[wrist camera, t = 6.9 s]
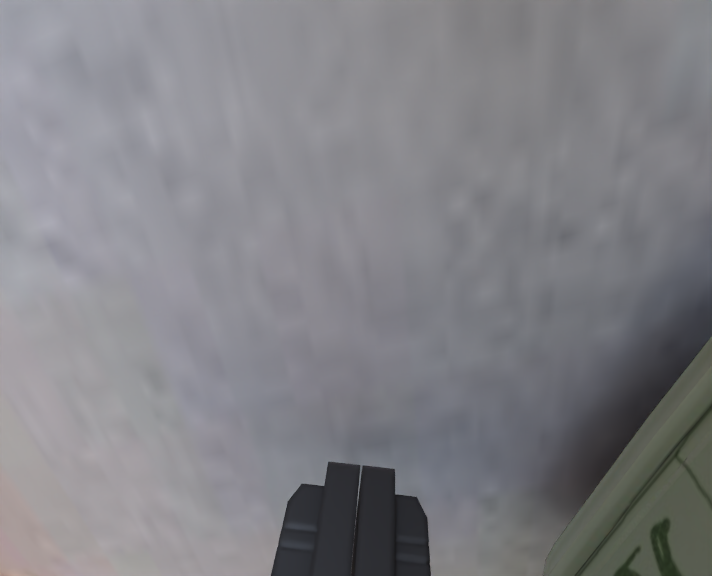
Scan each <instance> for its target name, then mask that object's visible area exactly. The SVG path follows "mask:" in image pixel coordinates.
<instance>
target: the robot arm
mask: <svg viewBox="0 0 712 576" xmlns="http://www.w3.org/2000/svg"><path fill="white" fill-rule="evenodd" d="M359 474H360V465H353V464H345V463H336V462H328V467H327V473H326V479H325V485H324V486H318V485H309V484H301V485H300V487H299V488H298V489H297V491H296V492H295V493H294V494H293V496H292V497H291V498H290V500H289V501H288V504H287V508H286V512H285V517H284V521H283V527H282V530H281V534H280V538H279V544H278V547H277V551H276V556H275V560H274V565H273V569H272V573H271V576H431V572H430V555H429V546H428V542H429V538H428V522H427V517H426V515H425V513H424V511H423V509H422V507H421V505H420V503H419V501H418V499H417V497H412V496H403V495H395V469H389V468H380V467H372V466H363V467H362V475H361V483H360V491H359V499H358V507H357V497H358V486H359ZM356 509H357V515H356ZM355 520H356V525H355ZM354 532H355V535H354ZM353 544H354V546H353ZM352 555H353V558H352ZM351 567H352V569H351Z"/></svg>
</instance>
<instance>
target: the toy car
mask: <svg viewBox="0 0 712 576" xmlns="http://www.w3.org/2000/svg"><path fill="white" fill-rule="evenodd" d="M543 576H712V337H711V338H710V339H709V340H708V342H707V343H706V344H705V345H704V347H703V348H702V349H701V351H700V352H699V353H698V354H697V356H696V357H695V358H694V359H693V361H692V362H691V363H690V364H689V366H688V367H687V368H686V370H685V371H684V372H683V373H682V375H681V376H680V377H679V378H678V380H677V381H676V382H675V383H674V385H673V386H672V387H671V389H670V390H669V391H668V392H667V394H666V395H665V396H664V397H663V399H662V400H661V401H660V402H659V404H658V405H657V406H656V408H655V409H654V410H653V411H652V413H651V414H650V415H649V416H648V418H647V419H646V421H645V422H644V423H643V425H642V426H641V427H640V429H639V430H638V431H637V433H636V434H635V435H634V437H633V438H632V440H631V441H630V442H629V444H628V445H627V446H626V448H625V449H624V450H623V452H622V453H621V454H620V456H619V457H618V458H617V460H616V461H615V463H614V464H613V465H612V467H611V468H610V469H609V471H608V472H607V473H606V475H605V476H604V477H603V479H602V480H601V482H600V483H599V484H598V486H597V487H596V488H595V490H594V491H593V492H592V494H591V495H590V496H589V498H588V499H587V500H586V502H585V503H584V505H583V506H582V507H581V509H580V510H579V511H578V513H577V514H576V515H575V517H574V518H573V519H572V521H571V522H570V524H569V525H568V526H567V528H566V529H565V530H564V532H563V533H562V534H561V536H560V537H559V538H558V540H557V541H556V543H555V544H554V546H553V548H552V550H551V551H550V553H549V555H548V557H547V559H546V562H545V568H544V574H543Z"/></svg>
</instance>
